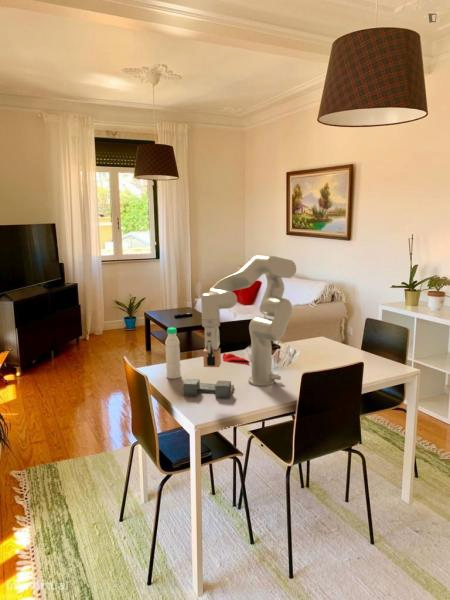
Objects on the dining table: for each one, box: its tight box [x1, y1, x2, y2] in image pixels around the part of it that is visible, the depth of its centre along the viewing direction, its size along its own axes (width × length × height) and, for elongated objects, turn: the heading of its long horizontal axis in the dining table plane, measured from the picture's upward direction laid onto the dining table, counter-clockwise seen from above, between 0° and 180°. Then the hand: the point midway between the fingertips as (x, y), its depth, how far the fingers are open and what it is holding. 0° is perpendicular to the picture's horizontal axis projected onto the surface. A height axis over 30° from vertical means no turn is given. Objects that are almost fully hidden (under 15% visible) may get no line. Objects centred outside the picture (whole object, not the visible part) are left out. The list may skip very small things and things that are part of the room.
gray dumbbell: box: [181, 378, 235, 400], centre depth 206 cm, size 22×13×6 cm, turn 79°
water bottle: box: [164, 327, 182, 380], centre depth 225 cm, size 7×7×25 cm
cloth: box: [221, 352, 250, 366], centre depth 252 cm, size 26×14×2 cm, turn 21°
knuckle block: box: [202, 347, 222, 368], centre depth 194 cm, size 6×5×7 cm
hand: (212, 362), depth 195 cm, fingers closed on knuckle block, 5 cm apart
